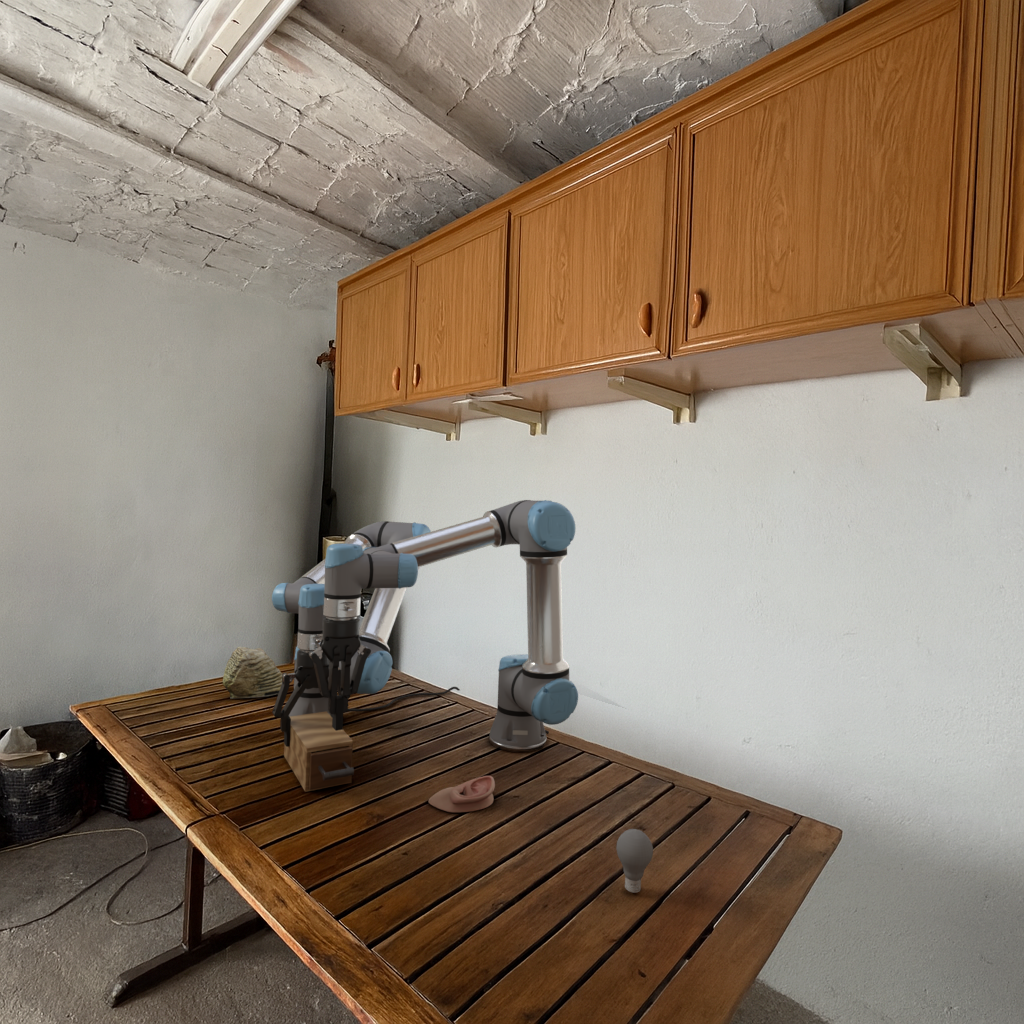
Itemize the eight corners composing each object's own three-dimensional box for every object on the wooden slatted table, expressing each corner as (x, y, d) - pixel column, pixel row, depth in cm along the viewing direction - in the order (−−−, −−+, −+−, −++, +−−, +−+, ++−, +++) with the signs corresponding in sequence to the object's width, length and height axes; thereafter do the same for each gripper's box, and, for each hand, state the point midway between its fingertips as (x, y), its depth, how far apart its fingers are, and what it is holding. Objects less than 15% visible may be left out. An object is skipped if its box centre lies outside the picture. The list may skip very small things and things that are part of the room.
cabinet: (351, 782, 141) (352, 740, 141) (305, 792, 136) (306, 748, 135) (325, 748, 159) (326, 711, 159) (283, 755, 154) (285, 717, 153)
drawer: (359, 792, 134) (360, 758, 134) (317, 801, 130) (318, 765, 129) (326, 749, 156) (327, 719, 156) (289, 755, 151) (290, 724, 151)
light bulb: (610, 879, 108) (613, 822, 108) (644, 879, 109) (647, 822, 109) (619, 902, 102) (622, 840, 102) (655, 901, 103) (658, 840, 103)
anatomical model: (423, 789, 130) (441, 766, 141) (423, 808, 130) (440, 784, 141) (486, 798, 127) (499, 774, 139) (485, 817, 128) (498, 792, 139)
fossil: (218, 695, 195) (220, 647, 195) (278, 685, 208) (279, 640, 207) (228, 703, 189) (230, 653, 188) (289, 692, 201) (290, 645, 201)
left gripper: (266, 657, 143) (263, 754, 143) (364, 648, 155) (361, 738, 155) (260, 649, 149) (257, 743, 150) (355, 641, 161) (351, 728, 162)
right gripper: (314, 622, 127) (310, 739, 127) (377, 618, 134) (373, 729, 134) (305, 615, 133) (301, 726, 134) (365, 612, 140) (361, 718, 141)
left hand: (310, 740), depth 152 cm, fingers closed on cabinet, 10 cm apart
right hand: (337, 727), depth 134 cm, fingers closed
